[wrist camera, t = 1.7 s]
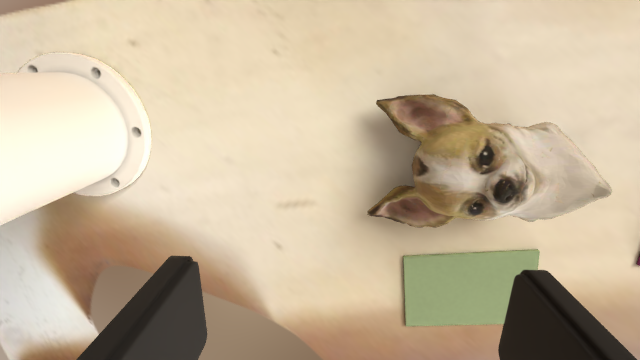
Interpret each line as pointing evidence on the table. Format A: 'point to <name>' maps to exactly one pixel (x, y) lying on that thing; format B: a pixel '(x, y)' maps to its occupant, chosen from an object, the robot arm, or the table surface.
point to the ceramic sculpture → (484, 167)
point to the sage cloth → (462, 286)
